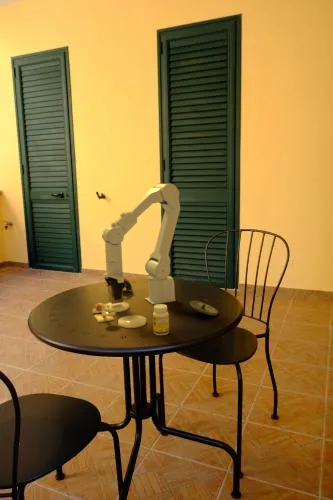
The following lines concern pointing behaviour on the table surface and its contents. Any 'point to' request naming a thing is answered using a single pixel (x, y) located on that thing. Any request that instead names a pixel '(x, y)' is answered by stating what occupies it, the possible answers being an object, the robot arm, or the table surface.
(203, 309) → the lid
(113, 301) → the block
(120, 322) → the cream round disc
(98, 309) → the balance
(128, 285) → the brown segmented ring
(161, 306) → the supplement bottle
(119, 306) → the dish low side
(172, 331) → the table surface
